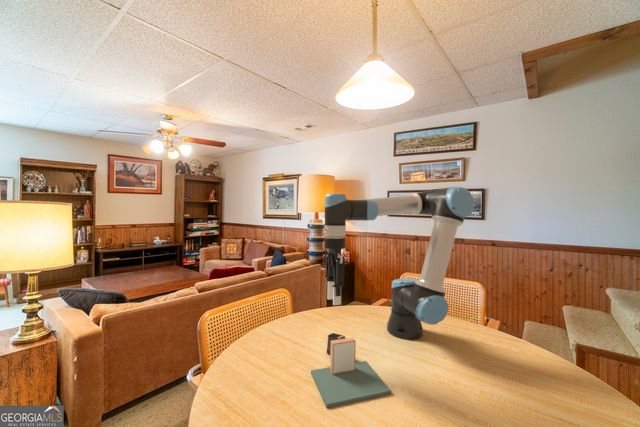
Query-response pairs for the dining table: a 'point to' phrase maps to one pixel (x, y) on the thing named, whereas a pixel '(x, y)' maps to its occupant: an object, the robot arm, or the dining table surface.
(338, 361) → the tile
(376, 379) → the mat
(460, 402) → the dining table surface
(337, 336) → the electronic device
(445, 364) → the dining table surface
